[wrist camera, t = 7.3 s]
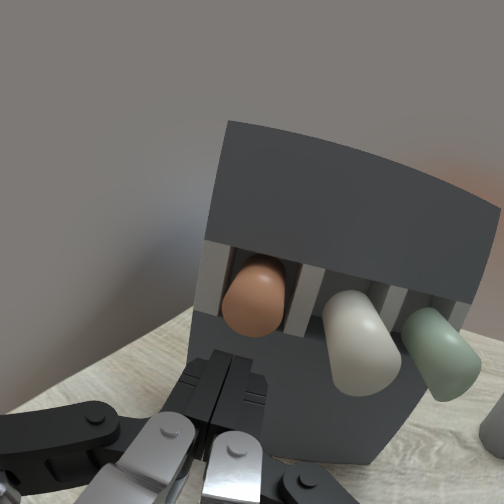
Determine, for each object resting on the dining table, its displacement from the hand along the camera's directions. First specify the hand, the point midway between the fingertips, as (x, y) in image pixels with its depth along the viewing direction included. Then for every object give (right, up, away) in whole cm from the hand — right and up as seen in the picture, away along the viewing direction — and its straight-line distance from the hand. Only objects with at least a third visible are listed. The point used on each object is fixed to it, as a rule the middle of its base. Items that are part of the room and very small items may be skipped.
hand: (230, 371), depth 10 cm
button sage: (+12, -3, +4) cm, 13 cm away
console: (+4, -15, +15) cm, 21 cm away
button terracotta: (+1, +1, +9) cm, 9 cm away
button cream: (+6, -2, +5) cm, 8 cm away
